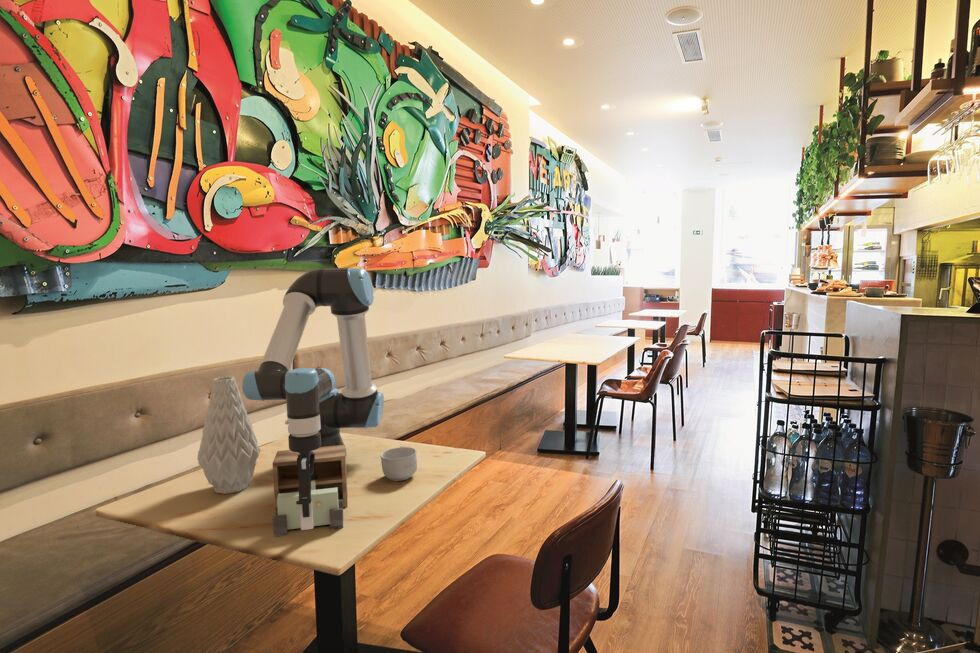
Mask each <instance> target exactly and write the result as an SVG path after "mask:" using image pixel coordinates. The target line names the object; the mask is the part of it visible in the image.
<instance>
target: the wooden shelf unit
mask: <svg viewBox="0 0 980 653" xmlns="http://www.w3.org/2000/svg"><path fill="white" fill-rule="evenodd" d="M345 448H346V444H344V445H338V446H327V447H320V448H318V449H316V450H313V453H315V465H314V466H315V472H316V473H315V475H318V479H313V480H315V484H316V490H318V489H327V488H336V487H338V505H339V508H338V509H330V511H329V512H330V524H329V527H330V529H329V530H335V529H343V528H344V508H348V478H347V477H348V475H347V474H348V473H347V450H346V451H345ZM298 455H300V453H298V452H292V451H291V450H290V449H286V450H277V451H276V453H275V455H274V456H275V457H274V459H273V461H272V473H273V474H272V476H273V477H272V478H273V490H274V491H273V494H274V508H275V515H273V516H272V530H273V537H281V536H287V535H288V533H289V529H288V530H287V517H286V515H280V516H278V508H277V497H278V494H282V493H291V492H299V475H298V465H297V458H298Z"/></svg>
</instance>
